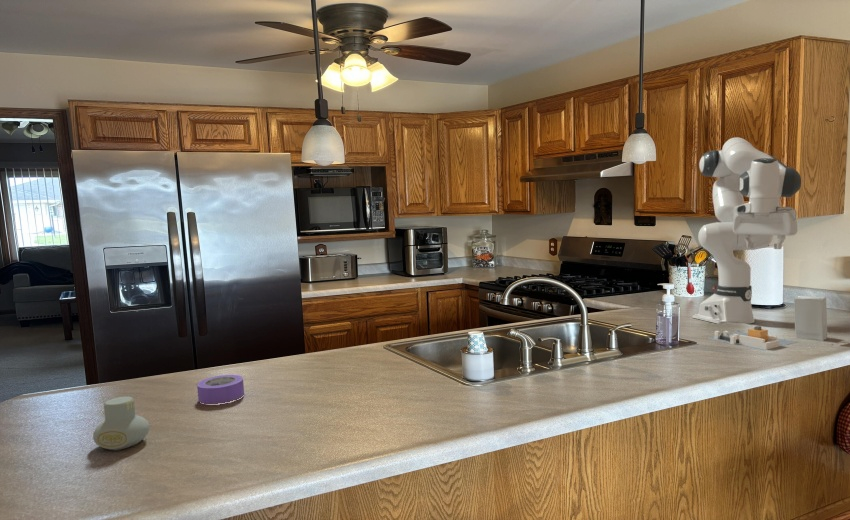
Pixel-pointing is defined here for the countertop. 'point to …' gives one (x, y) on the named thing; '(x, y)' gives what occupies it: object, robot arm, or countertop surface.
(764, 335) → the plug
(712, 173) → the robot arm
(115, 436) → the air freshener
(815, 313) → the skincare box
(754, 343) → the board
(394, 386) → the countertop surface
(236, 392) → the tape roll
